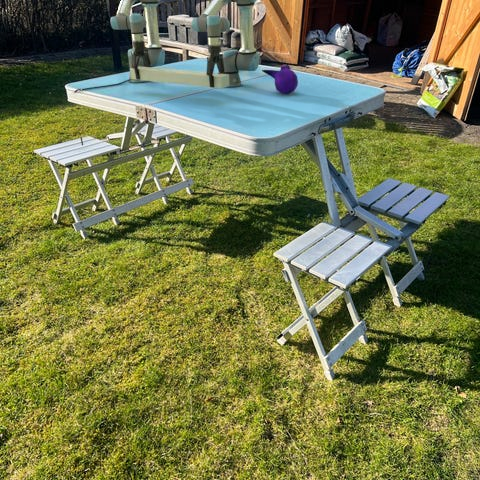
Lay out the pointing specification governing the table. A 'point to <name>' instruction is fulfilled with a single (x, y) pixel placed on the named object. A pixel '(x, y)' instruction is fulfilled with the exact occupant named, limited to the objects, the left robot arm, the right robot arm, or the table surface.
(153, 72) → the beige rectangular bar
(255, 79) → the table surface
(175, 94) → the table surface
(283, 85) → the toy
